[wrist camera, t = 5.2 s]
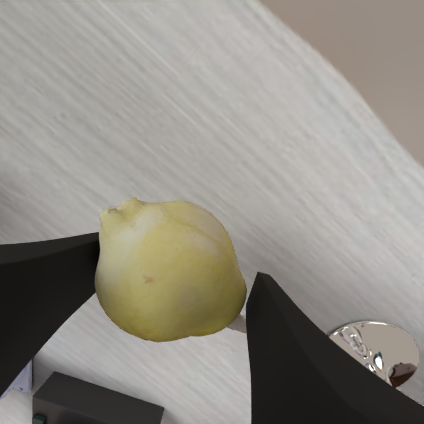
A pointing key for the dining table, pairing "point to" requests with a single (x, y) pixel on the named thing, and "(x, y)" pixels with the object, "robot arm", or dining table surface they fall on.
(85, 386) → the scale
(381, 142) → the dining table surface
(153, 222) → the fruit
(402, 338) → the wineglass
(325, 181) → the dining table surface
